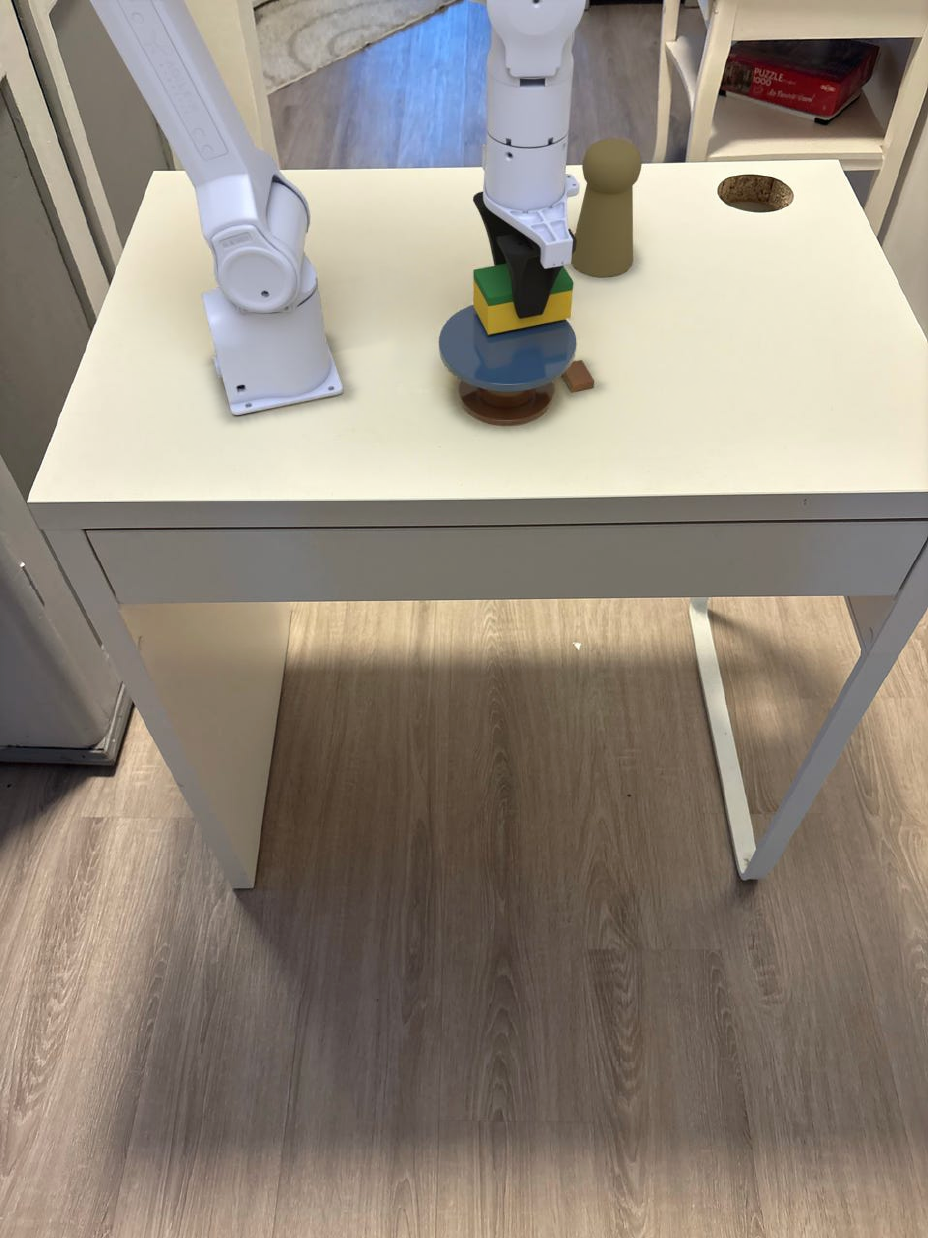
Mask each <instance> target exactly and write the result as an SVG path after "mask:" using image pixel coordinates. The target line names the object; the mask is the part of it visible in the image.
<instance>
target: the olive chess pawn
mask: <svg viewBox="0 0 928 1238" xmlns="http://www.w3.org/2000/svg"><path fill="white" fill-rule="evenodd" d="M581 165H582V166H581V169H582V175H583V179H584V180H585V182H586V186H585V190H584V194H583V199H582V203H581V207H580V211H579V217H578V221H577V226H576V229H575V234H574V236H575V237H576V239H577V245H576V250H575V252H574V253H573V254H572V257H571V265H572V267H573V268H575V270H577V271H578V272H580V273H582V274H584V275H587V276H590V277H597V278H611V277H612V278H613V277H615V276H619V275H622V274H624V273H626V272H628V270H629V269H630V268H631V267H632V265H633V262H634V191H633V190H634V188H633V187H634V185H635V184H636V182H638V179H639V177H640V174H641V171H642V165H643V162H642V156H641V154H640V151H639V149H638V148H637V146H636V145H635V144H633V143H632V142H630V141H627V140H625V139H622V138H616V137H612V138H611V137H610V138H609V137H608V138H603V139H600V140H597V141H595V142H593V143H592V144H590V146H589V147H588V148H587V150H586V151H585V153H584V155H583V160H582V164H581Z"/></svg>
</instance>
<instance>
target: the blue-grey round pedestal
mask: <svg viewBox="0 0 928 1238" xmlns="http://www.w3.org/2000/svg"><path fill="white" fill-rule="evenodd" d="M577 345H578V343H577V335H576V332H575V330H574V328H573V326H572V325H571V323H570V322H569V321H568V319H564V320H559V321H554V322H549V323H544V324H539V325H534V326H529V327H524V328H519V329H514V330H509V331H504V332H499V333H494V334H489V335H488V333H487V331H486V329H485V327H484V325H483V324H482V322H481V320H480V318H479V316H478V314H477V312H476V310H475V308H474V306H473V304H470V305H468V306H466V307H464V308H462V309H460V310H458V311H457V312H456V313H454V314H453V315H452V316H450V317H449V319H448V320H446V321H445V323H444V325H443V326H442V328H441V329H440V333H439V335H438V351H439V352H438V353H439V357H440V359H441V361H442V364H443V365H444V366H445V367H446V369H447V370H448V371H449V372H450V373H451V374H452V375H453V376H455V377H456V378H458V379H459V380H460V381H459V383H458V400H459V402H460V405H461V407H462V408H463V409H464V411H465V412H467V413H468V414H469V415H470V416H471V417H472V418H474V419H476V420H478V421H480V422H483V423H486V424H489V425H493V426H501V427H511V426H512V427H513V426H520V425H524V424H528V423H531V422H532V421H535V420H537V419H539V418H541V417H542V416H543V415H544V414H546V413H547V411H548V410H549V409H550V407H551V406H552V404H553V401H554V397H555V385H554V383H553V382H554V381H555V380H557V379H558V378H560V377H562V374H563V373H565V372H566V370H567V369H568V368H569V367H570V365H571V364H572V362H573V361H575V357H576V354H577Z"/></svg>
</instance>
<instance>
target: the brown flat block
mask: <svg viewBox="0 0 928 1238" xmlns="http://www.w3.org/2000/svg"><path fill="white" fill-rule="evenodd" d="M561 377H562V378H563V380H564V382H565V384H566V385H567V387H568V389H569V391H570V392H571V393H572V394H573V393H578V392H583V391H586V390H587V391H588V390H592V389H594V388H595V379H594V378H593V376H592V374H591V373H590V371H589V369H588V367H587V366H586V364H585V363H584V360H583V359H578V360H573V362H572V364H571V365H570V367H569V368H568V369H567V370H566V372H565V373H563V374H562V375H561Z"/></svg>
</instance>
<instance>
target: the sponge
mask: <svg viewBox="0 0 928 1238" xmlns="http://www.w3.org/2000/svg"><path fill="white" fill-rule="evenodd" d="M472 275H473V276H472V280H473V281H472V282H473V283H472V289H473V291H472V294H473V295H472V297H473V300H472V301H473V303H472V305H473V306H474V308H475V310H476V312H477V314H478V316H479V318H480V320H481V322H482V324H483V325H484V327H485V329H486V331H487V333H488V335H489V334H494V333H499V332H504V331H509V330H514V329H519V328H524V327H529V326H534V325H539V324H544V323H549V322H554V321H559V320H564V319H566V320H568V319H571V316H572V305H573V295H574V291H573V290H574V280H573V278H572V276H571V275H570V274H569V272H568V270H567V269H566V267H565V265H564V266H563V267H562V269H561V270H560V272H559V274H558V276H557V278H556V280H555V283H554V285H553V288H552V290H551V293H550V296H549V299H548V302H547V305H546V307H545V310H544V312H543V314H542V315H538V316H533V317H528V318H523V319H519V318H518V316H517V314H516V311H515V307H514V302H513V295H512V285H511V278H510V273H509V269H508V265H507V263H506V264H501V265H496V266H494V265H491V266H485V267H480V268H474V269H473V270H472Z"/></svg>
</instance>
